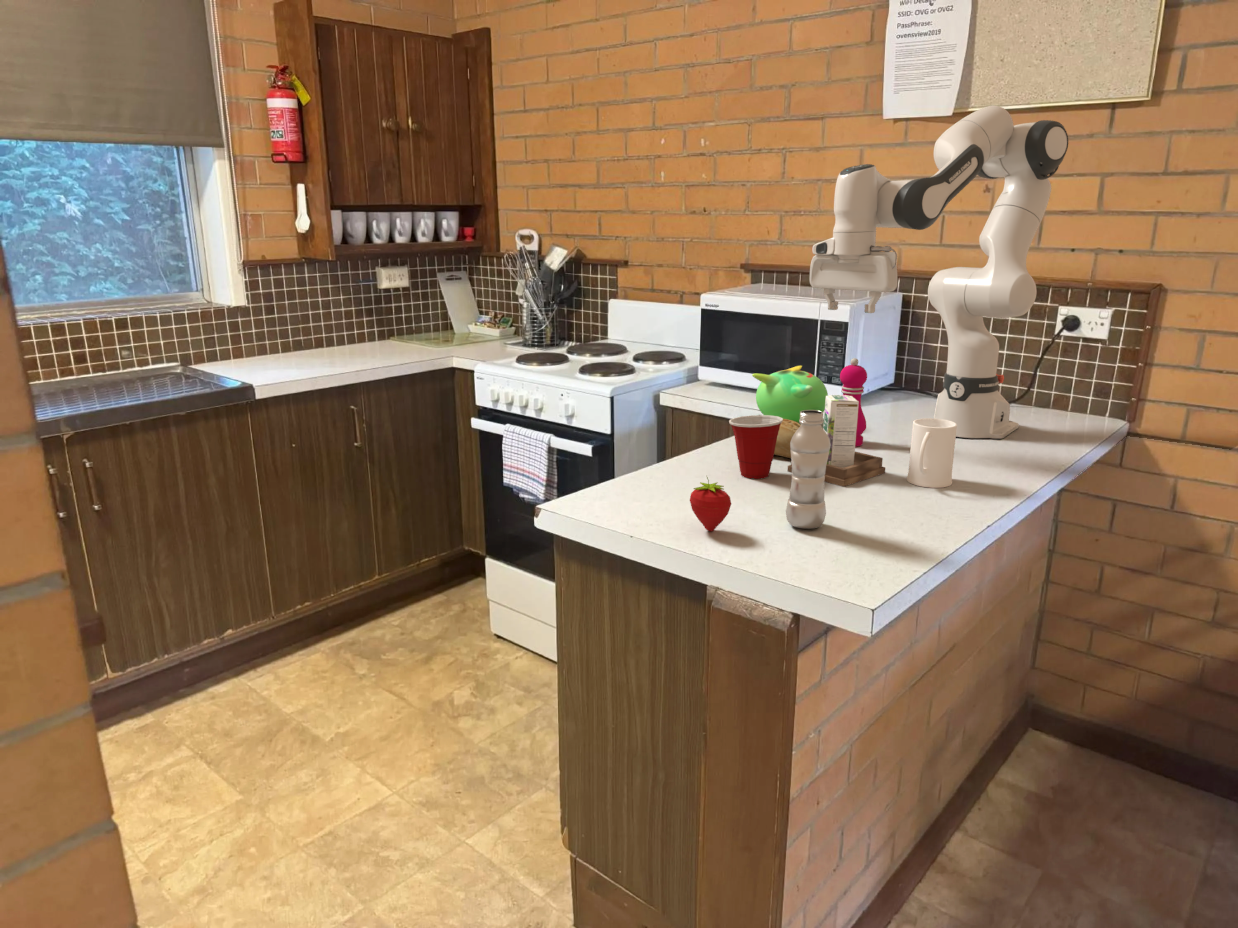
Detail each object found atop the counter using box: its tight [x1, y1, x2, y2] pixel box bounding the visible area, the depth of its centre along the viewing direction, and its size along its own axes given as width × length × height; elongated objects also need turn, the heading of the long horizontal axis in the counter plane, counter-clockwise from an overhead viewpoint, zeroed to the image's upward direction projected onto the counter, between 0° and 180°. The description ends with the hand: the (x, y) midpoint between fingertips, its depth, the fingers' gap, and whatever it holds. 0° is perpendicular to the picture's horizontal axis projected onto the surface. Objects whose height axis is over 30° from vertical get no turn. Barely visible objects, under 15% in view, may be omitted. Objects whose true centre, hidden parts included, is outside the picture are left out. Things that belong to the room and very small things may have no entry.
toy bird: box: [751, 365, 829, 425], centre depth 210 cm, size 18×17×15 cm
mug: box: [906, 417, 957, 489], centre depth 163 cm, size 12×8×12 cm
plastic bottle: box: [785, 410, 831, 530], centre depth 139 cm, size 6×7×20 cm
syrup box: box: [822, 394, 859, 468], centre depth 170 cm, size 6×6×14 cm
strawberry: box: [689, 475, 732, 532], centre depth 139 cm, size 6×8×10 cm
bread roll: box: [774, 419, 801, 459], centre depth 185 cm, size 10×15×8 cm, turn 56°
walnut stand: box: [787, 451, 886, 488], centre depth 172 cm, size 14×14×3 cm
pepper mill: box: [839, 357, 868, 448], centre depth 191 cm, size 7×7×20 cm
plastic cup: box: [728, 414, 783, 480], centre depth 169 cm, size 11×11×12 cm
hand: (850, 311), depth 181 cm, fingers open, 8 cm apart
